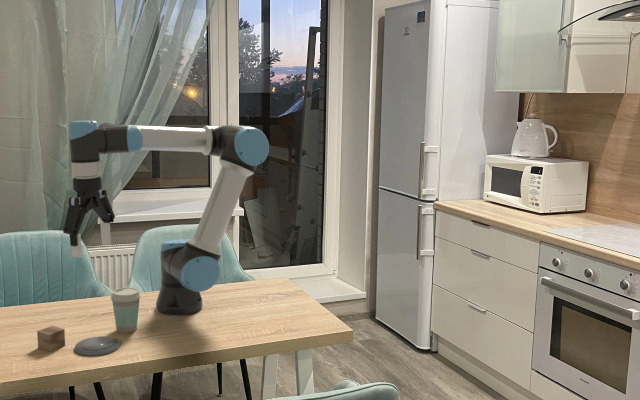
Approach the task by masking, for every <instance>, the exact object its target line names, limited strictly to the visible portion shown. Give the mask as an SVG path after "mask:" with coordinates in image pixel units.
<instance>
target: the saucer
mask: <svg viewBox="0 0 640 400" xmlns="http://www.w3.org/2000/svg"><path fill="white" fill-rule="evenodd" d="M120 348H121V341H120V339H118V338H117V337H114V336H112V337H111V336H107V335H105V336H92V337H87V338H85V339H83V340H82V339H81V340H80V341H77V343H76V344H75V345H74V351H75V353H76V354H78V355H81V356H87V357H97V356H98V357H99V356H103V355H108V354H111V353H114V352H116V351H117V350H118V349H120Z"/></svg>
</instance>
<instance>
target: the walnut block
mask: <svg viewBox="0 0 640 400" xmlns="http://www.w3.org/2000/svg"><path fill="white" fill-rule="evenodd" d="M36 334H37V348H38V349H41V350H43V351H46V352H50V353H51V352H53V351H56V350H58V349H60V348H64V347H65V346H66V337H65V335H66V333H65V328H61V327H58V326H56V325H51V326H48V327H45V328H42V329H39V330H37V333H36Z"/></svg>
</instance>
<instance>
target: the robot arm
mask: <svg viewBox="0 0 640 400" xmlns="http://www.w3.org/2000/svg"><path fill="white" fill-rule="evenodd" d="M68 124H69V125H68V141H69V152H70V159H71V161H70V162H71V173H72V174H71V175H72V177H73V178H72V189H73V192H75V193H76V197H69V198H68V209H67V212H66V213H67V214H66V217H65V222H64V227H63V231H62V232H63V234H66V235H69V243H70V248H71V258H83V248H82V238H81V237H82V235H81V233H79V231H80V230H81V227H82V224H83V222H84V219H85V217H86V214H88V213H89V212H90V211H91V210H92V209H93V210H94V212H95V213H96V215H97V216H98V218H100V220H101V222H100V223H99V225H100V236H101V237H100V238H101V239H100V240H101V245H105V246H111V245H112V237H111V234H112V233H111V232H112V230H111V229H112V228H111V223H114V220H115V218H116V215H115V212H114V210H113V208H112V206H111V202H110V200H109V199H108V193H107V190H106V189H103V186H102V185H103V183H102V177H101V174H102V169H101V168H102V167H101V157H100V156H101V155H105V154H109V155H110V154H124V153H126V154H127V153H129V154H131V153H137V152H140V151H166V152H186V153H187V152H192V153H194V152H195V153H202V154H203V156H214V157H219V163H220V165H221V168H220V171H219V172H218V176H217V178H216V181H215V183H214V185H213V187H212V190H211V193H210V195H209V198H208V200H207V202H206V205H205V208H204V211H203V213H202V216H201V218H200V220H199V222H198V226H197V228H196V230H195V233H194V236H193V237H192V238H190V239H189V238H186V239H185V238H181V239H172V240H166V241H162V243H161V245H160V251H159V253H160V280H161V281H160V282H161V283H160V288H159V293H158V295H157V299H156V301H155V309H156V311H157V312H159V313H160V314H164V315H171V316H181V315H182V316H183V315H189V314H193V313H196V312H199V311H200V310H202V309H203V298H202V295H201V292H205V291H208V290H210V289H211V288H213V287H214V286H215V285H216V284H217V282H218V280H219V279H220V275H221V269H220V264H219V262H220V260H221V257H222V252H221V250H220V246H221V244H222V240H223V238H224V236H225V233H226V231H227V229H228V225H229V224H230V221H231V219H232V216H233V213H234V211H235V208H236V205H237V203H238V201H239V199H240V196H241V193H242V191H243V189H244V186H245V184H246V182H247V181H246V180H248V179H247V178H249V177H250V176H252V175H254V174H255V172H256V169H257V166H258V165H261V164H262V163H264V162H265V161H266V160H267V158H268V155H269V152H270V143H269V140H268V138H267V136H266V134H265V133H264V132H263V131H262V130H261V129H259V128H256V127H253V126H250V125H238V124H226V125H204V126H203V127H202V128H198V127H197V128H193V127H175V126H158V125H157V126H156V125H139V124H138V125H137V124H136V125H135V124H121V123H109V122H102V123H99V124H98V122H97V121H96V120H92V119H91V120H85V119H83V120H72V121H70V123H68Z"/></svg>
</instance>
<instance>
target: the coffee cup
mask: <svg viewBox="0 0 640 400" xmlns="http://www.w3.org/2000/svg"><path fill="white" fill-rule="evenodd" d="M111 293H112V294H111V296H110V300H111V301H112V306H113V314H114V321H115V327H116V331H117V332H118V333H122V334H123V333H125V334H127V333H128V334H129V333H131V332H134V331H136V330H137V326H138V321H139V320H138V318H139V308H140V298H141V296H142V295H141V293H140V291H139V289H137V288H136V287H121V288H116V289H114V290H113V291H112V292H111Z"/></svg>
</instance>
